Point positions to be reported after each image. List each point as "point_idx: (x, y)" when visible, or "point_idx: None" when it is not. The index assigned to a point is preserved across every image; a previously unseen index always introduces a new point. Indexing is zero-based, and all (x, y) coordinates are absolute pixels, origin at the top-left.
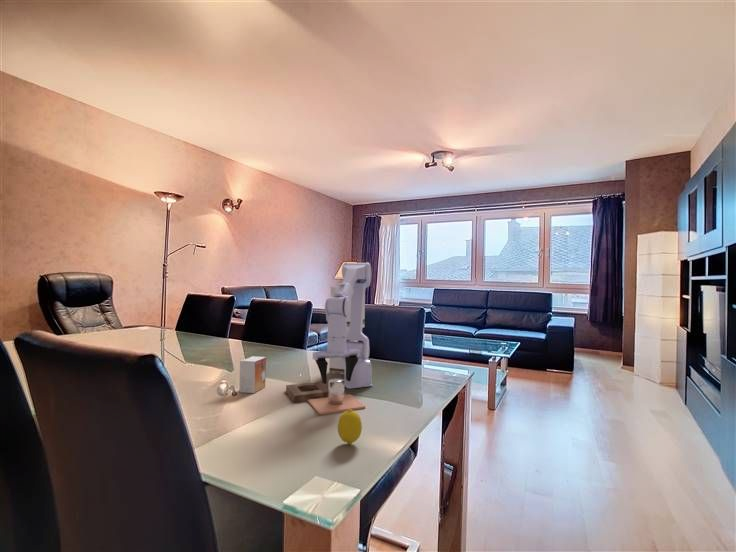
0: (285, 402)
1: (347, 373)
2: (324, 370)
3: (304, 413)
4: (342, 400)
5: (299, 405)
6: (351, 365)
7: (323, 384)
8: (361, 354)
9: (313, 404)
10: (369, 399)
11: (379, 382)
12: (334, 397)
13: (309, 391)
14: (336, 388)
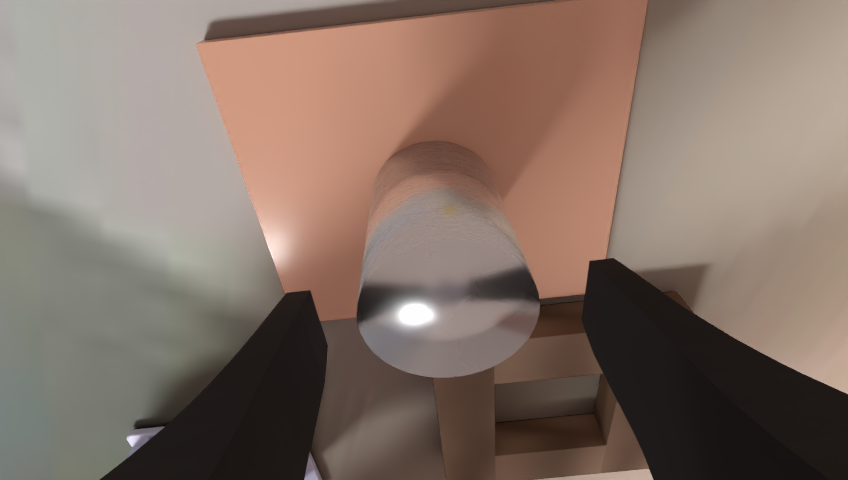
0: (722, 301)
1: (301, 389)
2: (747, 370)
3: (726, 71)
4: (393, 167)
5: (674, 236)
6: (199, 462)
7: (444, 451)
8: None
9: (606, 200)
10: (157, 232)
11: (85, 469)
12: (472, 173)
13: (573, 369)
14: (467, 209)
